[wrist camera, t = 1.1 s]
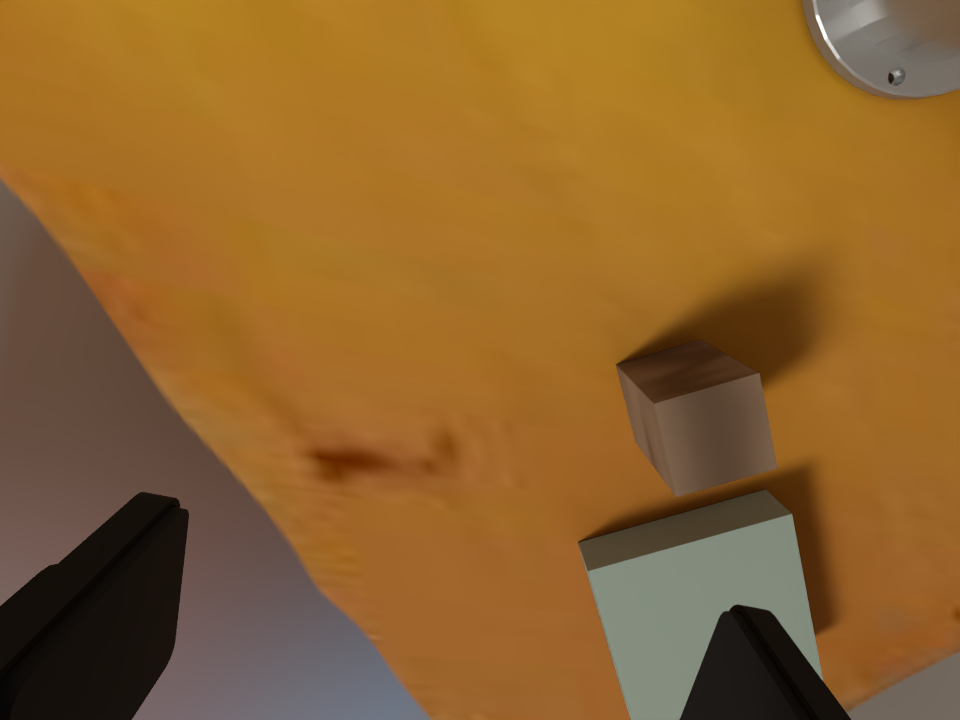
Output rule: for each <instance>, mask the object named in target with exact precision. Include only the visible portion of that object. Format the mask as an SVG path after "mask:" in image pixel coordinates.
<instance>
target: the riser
mask: <svg viewBox="0 0 960 720" xmlns="http://www.w3.org/2000/svg"><path fill="white" fill-rule="evenodd" d="M578 544H579V548H580V551H581V555H582V558H583V561H584V565H585V568H586V572H587V575H588V578H589V582H590V585H591V589H592V592H593V595H594V599H595V602H596V606H597V609H598V612H599V616H600V619H601V623H602V626H603V629H604V633H605V636H606V640H607V643H608V646H609V650H610V653H611V657H612V660H613V663H614V667H615V670H616V674H617V677H618V680H619V684H620V687H621V691H622V694H623V697H624V700H625V703H626V706H627V709H628V712H629V715H630V718H631V720H678V719H680V717H681V715H682V712H683V710H684V707H685V705H686V702H687V699H688V697H689V694H690V692H691V689H692V686H693V684H694V681H695V679H696V676H697V673H698V671H699V668H700V666H701V663H702V661H703V658H704V655H705V653H706V650H707V648H708V645H709V642H710V640H711V637H712V635H713V632H714V629H715V627H716V624H717V622H718V619H719V617H720V615H721V614H722V613H723V612H724V611H729V610H730V608H731V607H733V606H734V605H737V604H739V605H744V606H749V607H755V608H760V609H765V610H768V611H771V612H772V613H773V614H774V615H775V617H776V618H777V619H778V621H779V622H780V624H781V625H782V626H783V628H784V629H785V630H786V632H787V633H788V634H789V636H790V637H791V638H792V640H793V641H794V643H795V644H796V645H797V647H798V648H799V649H800V651H801V652H802V653H803V655H804V656H805V658H806V659H807V660H808V662H809V663H810V664H811V666H812V667H813V668H814V670H815V671H816V672H817V674H818V675H819V677H820V678H821V679H822V681H823V678H822V673H821V667H820V662H819V657H818V651H817V646H816V640H815V635H814V630H813V624H812V619H811V613H810V608H809V602H808V597H807V592H806V586H805V581H804V575H803V570H802V565H801V559H800V554H799V548H798V543H797V538H796V532H795V527H794V521H793V516H792V513H791V512H790V511H788V510H787V509H786V508H785V507H784V506H783V505H782V504H781V503H780V502H779V501H778V500H777V499H776V498H775V497H773V496H772V495H771V494H770V493H769V492H768V491H767V490H766V489H765V490H762V491H758V492H755V493H751V494H748V495H744V496H741V497H737V498H733V499H730V500H726V501H723V502H719V503H716V504H712V505H709V506H705V507H702V508H698V509H695V510H691V511H688V512H684V513H681V514H677V515H674V516H670V517H666V518H663V519H659V520H656V521H652V522H649V523H645V524H642V525H638V526H635V527H631V528H628V529H624V530H621V531H617V532H614V533H610V534H607V535H603V536H599V537H596V538H592V539H589V540H585V541H582V542H578Z"/></svg>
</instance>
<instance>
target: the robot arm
mask: <svg viewBox="0 0 960 720" xmlns="http://www.w3.org/2000/svg"><path fill="white" fill-rule="evenodd" d="M802 2H803V10H804V14H805V17H806V20H807V24H808V27H809V31H810V34H811V36H812V38H813V40H814V42H815V43H816V45H817V47H818V49H819V51H820V53H821V55H822V56H823V57H824V58H825V60H826V61H827V62H828V63H829V65H830V66H831V67H832V68H833V69H834V71H835V72H836V73H838V74H839V75H840V76H841V77H843V78H844V79H845V80H847V81H848V82H849V83H850V84H852V85H853V86H855V87H857V88H859V89H861V90H864V91H866V92H868V93H870V94H872V95H876V96H881V97H885V98H890V99H921V98H926V97H931V96H937V95H941V94H945V93H948V92H951V91H954V90H957V89H960V0H802ZM188 519H189V513H188V510H186V509H182V508H180V504H179V500H178V499H176V498H173V497H167V496H162V495H157V494H151V493H146V492H141V493H139V494H137V495H136V496H135V497H133V498H132V499H131V500H130V501H129V502H128V503H127V504H125V505H124V506H123V507H122V508H121V509H120V510H119V511H118V512H116V513H115V514H114V515H113V516H112V517H111V518H109V519H108V520H107V521H106V522H105V523H104V524H103V525H102V526H100V527H99V528H98V529H97V530H96V531H95V532H94V533H92V534H91V535H90V536H89V537H88V538H87V539H86V540H84V541H83V542H82V543H81V544H80V545H79V546H78V547H76V548H75V549H74V550H73V551H72V552H71V553H70V554H69V555H67V556H66V557H65V558H64V559H63V560H62V561H61V562H59V563H58V564H54V565H50V566H48V567H47V568H45V569H44V570H42V571H41V572H40V573H38V574H37V575H36V576H35V577H34V578H32V579H31V580H30V581H29V582H28V583H27V584H26V585H24V586H23V587H22V588H21V589H20V590H18V591H17V592H16V593H15V594H14V595H13V596H12V597H10V598H9V599H8V600H7V601H6V602H5V603H4V604H2V605H1V606H0V720H132V718H133V717H134V715H135V714H136V712H137V711H138V709H139V708H140V706H141V705H142V703H143V702H144V700H145V698H146V697H147V695H148V694H149V692H150V691H151V689H152V688H153V686H154V685H155V683H156V682H157V680H158V678H159V677H160V675H161V674H162V672H163V671H164V669H165V668H166V666H167V664H168V662H169V660H170V657H171V655H172V652H173V649H174V645H175V638H176V629H177V620H178V611H179V602H180V592H181V584H182V575H183V566H184V556H185V546H186V538H187V529H188ZM680 720H851V719H850V717H849V716H848V715H847V713H846V712H845V711H844V709H843V708H842V706H841V705H840V704H839V702H838V701H837V700H836V698H835V697H834V696H833V694H832V693H831V691H830V690H829V689H828V687H827V686H826V685H825V683H824V682H823V681H822V679H821V678H820V677H819V675H818V674H817V672H816V671H815V670H814V668H813V667H812V666H811V664H810V663H809V662H808V660H807V659H806V658H805V656H804V655H803V653H802V652H801V651H800V649H799V648H798V647H797V645H796V644H795V643H794V641H793V640H792V638H791V637H790V636H789V634H788V633H787V632H786V630H785V629H784V628H783V626H782V625H781V624H780V622H779V621H778V619H777V618H776V617H775V615H774V614H773V613H772V612H771V611H768V610H765V609H760V608H755V607H749V606H744V605H739V604H737V605H734V606H733V607H731V608H730V610H729V611H724V612H723V613H722V614H721V615H720V617H719V619H718V622H717V624H716V627H715V629H714V632H713V635H712V637H711V640H710V642H709V645H708V648H707V650H706V653H705V655H704V658H703V661H702V663H701V666H700V668H699V671H698V673H697V676H696V679H695V681H694V684H693V686H692V689H691V692H690V694H689V697H688V699H687V702H686V705H685V707H684V710H683V712H682V715H681V717H680Z"/></svg>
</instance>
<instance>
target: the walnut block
mask: <svg viewBox="0 0 960 720" xmlns="http://www.w3.org/2000/svg"><path fill="white" fill-rule="evenodd" d="M616 367H617V371H618V375H619V379H620V383H621V387H622V391H623V394H624V398H625V402H626V406H627V410H628V414H629V418H630V422H631V426H632V430H633V434H634V438H635V442H636V443H637V444H638V446H639V447H640V449H641V450H642V451H643V453H644V454H645V455H646V457H647V458H648V459H649V461H650V462H651V464H652V465H653V466H654V468H655V469H656V470H657V472H658V473H659V474H660V476H661V477H662V478H663V480H664V481H665V483H666V484H667V485H668V487H669V488H670V489H671V491H672V492H673V493H674V495H675V496H676V497H679V496H682V495H686V494H689V493H693V492H696V491H700V490H703V489H707V488H710V487H714V486H717V485H721V484H724V483H728V482H731V481H735V480H738V479H742V478H745V477H749V476H752V475H756V474H759V473H763V472H766V471H770V470H773V469H777V464H776V459H775V453H774V448H773V443H772V437H771V432H770V427H769V421H768V416H767V410H766V405H765V400H764V394H763V389H762V384H761V378H760V373H759V372H757V371H755V370H753V369H752V368H750V367H748V366H746V365H745V364H743V363H741V362H739V361H737V360H736V359H734V358H732V357H730V356H728V355H727V354H725V353H723V352H721V351H720V350H718V349H716V348H714V347H712V346H711V345H709V344H707V343H705V342H703V341H702V340H697V341H694V342H691V343H687V344H684V345H680V346H677V347H674V348H670V349H667V350H664V351H660V352H657V353H654V354H650V355H647V356H643V357H640V358H637V359H633V360H630V361H627V362H623V363H620V364H617V365H616Z"/></svg>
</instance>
